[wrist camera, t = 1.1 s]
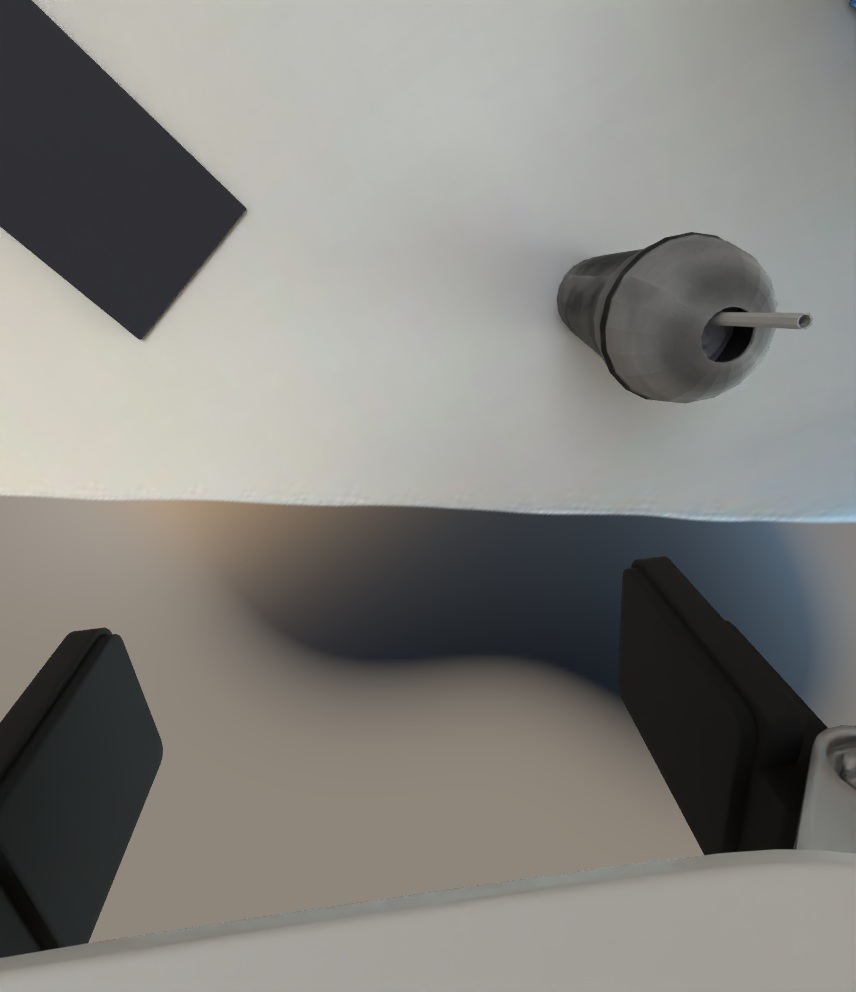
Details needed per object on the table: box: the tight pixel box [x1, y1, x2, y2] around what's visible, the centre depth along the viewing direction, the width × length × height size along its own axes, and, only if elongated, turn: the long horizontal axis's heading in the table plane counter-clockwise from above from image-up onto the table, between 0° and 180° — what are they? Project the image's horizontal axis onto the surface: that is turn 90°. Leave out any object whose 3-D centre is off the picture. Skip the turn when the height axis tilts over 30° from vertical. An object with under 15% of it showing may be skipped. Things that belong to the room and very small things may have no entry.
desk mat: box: [0, 0, 246, 340], centre depth 30 cm, size 10×22×1 cm, turn 45°
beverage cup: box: [557, 232, 813, 403], centre depth 28 cm, size 7×7×20 cm
